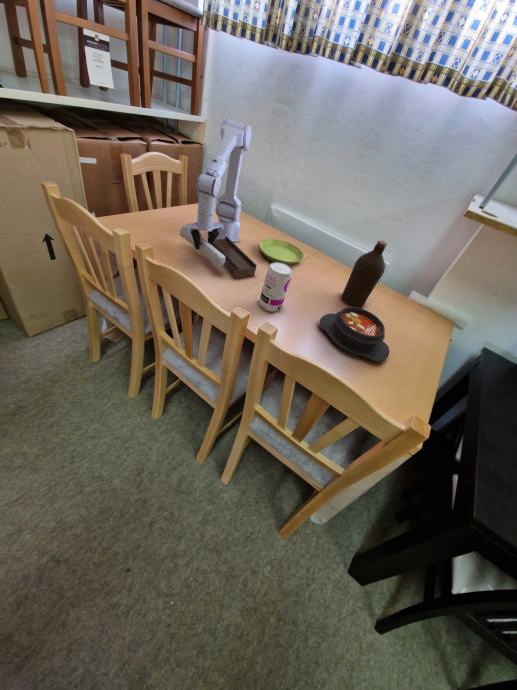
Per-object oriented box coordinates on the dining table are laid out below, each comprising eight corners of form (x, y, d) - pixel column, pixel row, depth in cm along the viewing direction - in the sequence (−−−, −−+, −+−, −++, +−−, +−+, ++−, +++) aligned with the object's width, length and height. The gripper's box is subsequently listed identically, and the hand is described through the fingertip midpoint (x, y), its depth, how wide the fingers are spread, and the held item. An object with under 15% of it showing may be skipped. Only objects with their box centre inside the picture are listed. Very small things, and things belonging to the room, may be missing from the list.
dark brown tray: (224, 247, 128) (226, 236, 125) (254, 276, 115) (256, 264, 112) (207, 249, 124) (208, 237, 120) (235, 279, 111) (237, 267, 107)
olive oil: (367, 311, 115) (401, 252, 98) (342, 306, 113) (372, 245, 97) (361, 296, 123) (391, 238, 106) (337, 291, 121) (364, 232, 104)
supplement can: (283, 303, 106) (295, 267, 96) (277, 315, 100) (289, 278, 90) (263, 296, 107) (272, 258, 97) (255, 307, 101) (265, 268, 91)
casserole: (393, 348, 101) (407, 329, 95) (374, 375, 89) (388, 356, 83) (332, 310, 110) (341, 292, 104) (307, 331, 97) (315, 311, 92)
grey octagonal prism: (230, 256, 107) (193, 226, 118) (219, 254, 103) (182, 223, 114) (224, 269, 110) (188, 238, 121) (214, 268, 106) (178, 236, 117)
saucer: (279, 272, 123) (281, 265, 120) (248, 248, 132) (250, 242, 130) (310, 263, 135) (313, 257, 133) (280, 242, 144) (282, 236, 142)
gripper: (191, 218, 98) (189, 255, 107) (229, 216, 105) (224, 251, 115) (183, 209, 102) (181, 245, 111) (220, 208, 109) (216, 243, 118)
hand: (202, 248), depth 113 cm, fingers closed on grey octagonal prism, 5 cm apart
